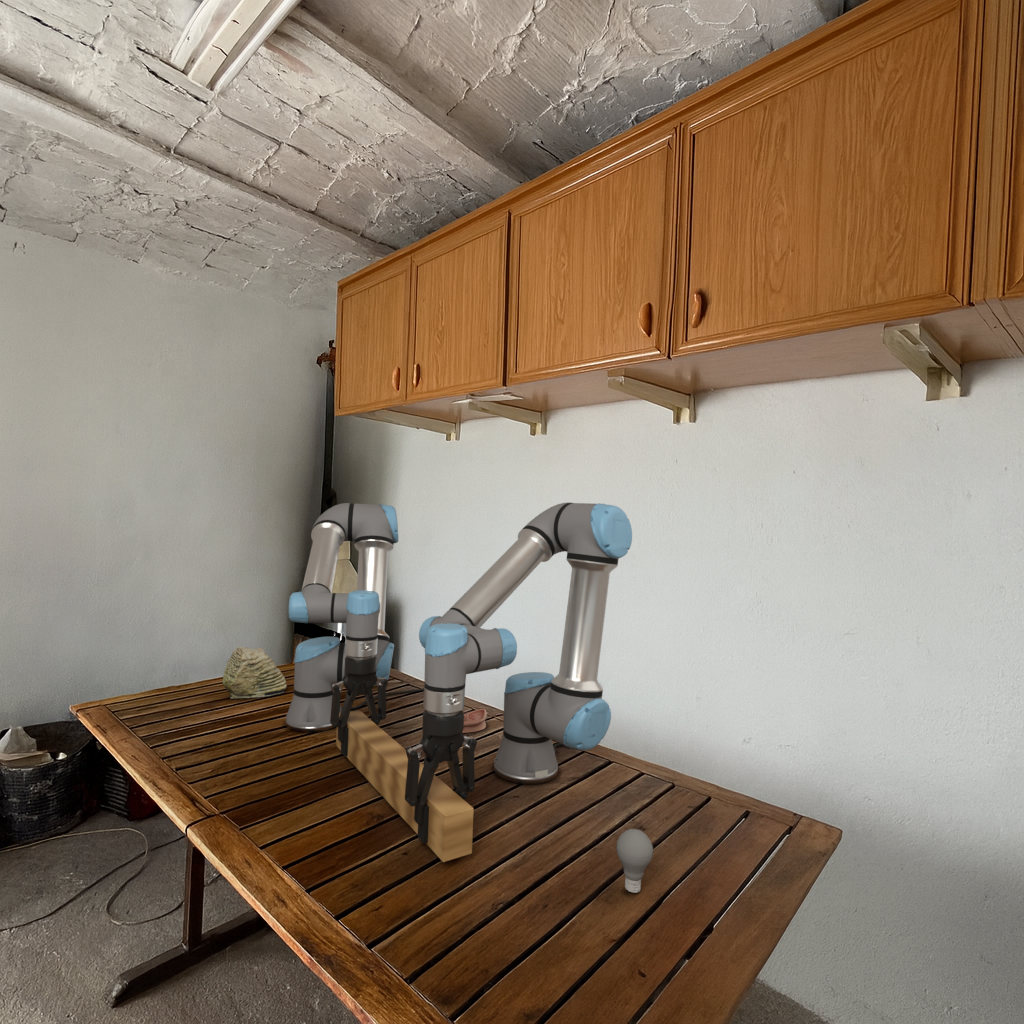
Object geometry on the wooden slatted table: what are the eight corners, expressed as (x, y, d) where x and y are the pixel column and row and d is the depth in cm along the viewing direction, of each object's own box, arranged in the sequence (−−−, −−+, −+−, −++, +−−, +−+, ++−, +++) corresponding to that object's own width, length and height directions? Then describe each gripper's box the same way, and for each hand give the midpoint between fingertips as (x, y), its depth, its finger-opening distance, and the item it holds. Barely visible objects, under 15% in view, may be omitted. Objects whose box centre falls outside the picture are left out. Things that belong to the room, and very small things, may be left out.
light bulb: (610, 879, 108) (613, 822, 108) (644, 879, 109) (647, 822, 109) (619, 902, 102) (622, 840, 102) (655, 901, 103) (658, 840, 103)
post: (335, 745, 157) (337, 713, 157) (358, 741, 160) (359, 709, 160) (443, 862, 109) (445, 816, 108) (471, 853, 112) (473, 808, 112)
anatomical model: (433, 716, 174) (446, 703, 185) (433, 730, 174) (445, 716, 185) (480, 721, 171) (490, 708, 182) (479, 736, 171) (489, 722, 183)
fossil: (218, 695, 195) (220, 647, 195) (278, 685, 208) (279, 640, 207) (228, 703, 189) (230, 653, 188) (289, 692, 201) (290, 645, 201)
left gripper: (326, 663, 144) (323, 764, 144) (403, 655, 154) (399, 750, 154) (317, 656, 150) (313, 753, 150) (391, 648, 160) (387, 739, 161)
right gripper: (404, 724, 108) (399, 859, 108) (497, 708, 118) (492, 831, 118) (387, 711, 114) (382, 838, 114) (477, 697, 124) (472, 814, 125)
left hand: (357, 751), depth 152 cm, fingers closed on post, 6 cm apart
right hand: (438, 834), depth 116 cm, fingers closed on post, 6 cm apart
